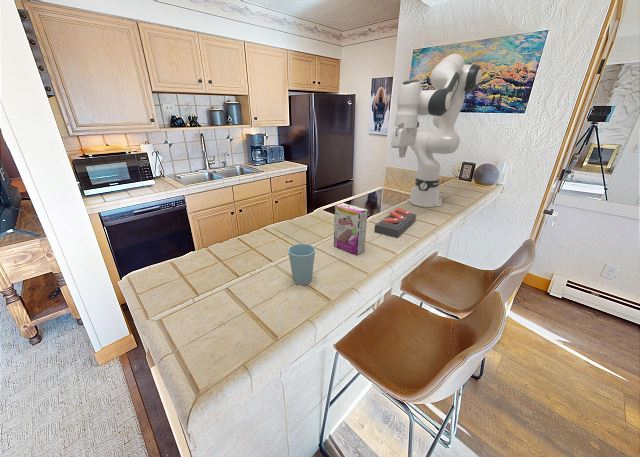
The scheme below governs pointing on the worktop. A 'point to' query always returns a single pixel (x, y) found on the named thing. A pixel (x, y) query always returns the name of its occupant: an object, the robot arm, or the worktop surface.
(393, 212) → the rocker
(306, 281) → the cup
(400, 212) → the rocker
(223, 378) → the worktop surface
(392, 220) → the rocker
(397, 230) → the rocker switch panel
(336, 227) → the candy bar box
